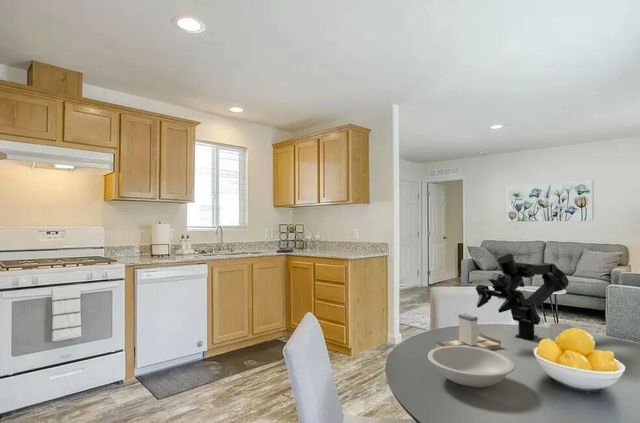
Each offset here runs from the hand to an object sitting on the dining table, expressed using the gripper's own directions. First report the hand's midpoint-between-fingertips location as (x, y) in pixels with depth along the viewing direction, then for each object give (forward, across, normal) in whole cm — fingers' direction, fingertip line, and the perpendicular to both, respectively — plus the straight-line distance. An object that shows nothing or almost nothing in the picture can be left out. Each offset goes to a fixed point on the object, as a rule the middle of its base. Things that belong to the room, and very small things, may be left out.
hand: (487, 309), depth 142 cm
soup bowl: (+34, +17, -4) cm, 38 cm away
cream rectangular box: (+13, -3, +7) cm, 15 cm away
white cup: (-6, +18, +21) cm, 28 cm away
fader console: (+14, -3, +8) cm, 16 cm away
